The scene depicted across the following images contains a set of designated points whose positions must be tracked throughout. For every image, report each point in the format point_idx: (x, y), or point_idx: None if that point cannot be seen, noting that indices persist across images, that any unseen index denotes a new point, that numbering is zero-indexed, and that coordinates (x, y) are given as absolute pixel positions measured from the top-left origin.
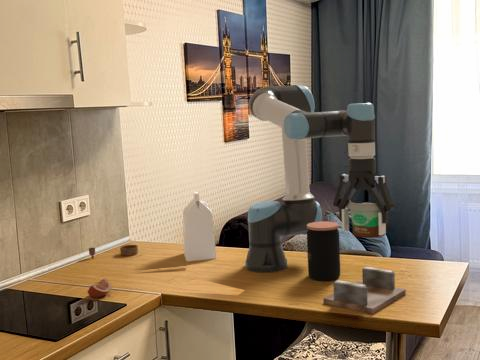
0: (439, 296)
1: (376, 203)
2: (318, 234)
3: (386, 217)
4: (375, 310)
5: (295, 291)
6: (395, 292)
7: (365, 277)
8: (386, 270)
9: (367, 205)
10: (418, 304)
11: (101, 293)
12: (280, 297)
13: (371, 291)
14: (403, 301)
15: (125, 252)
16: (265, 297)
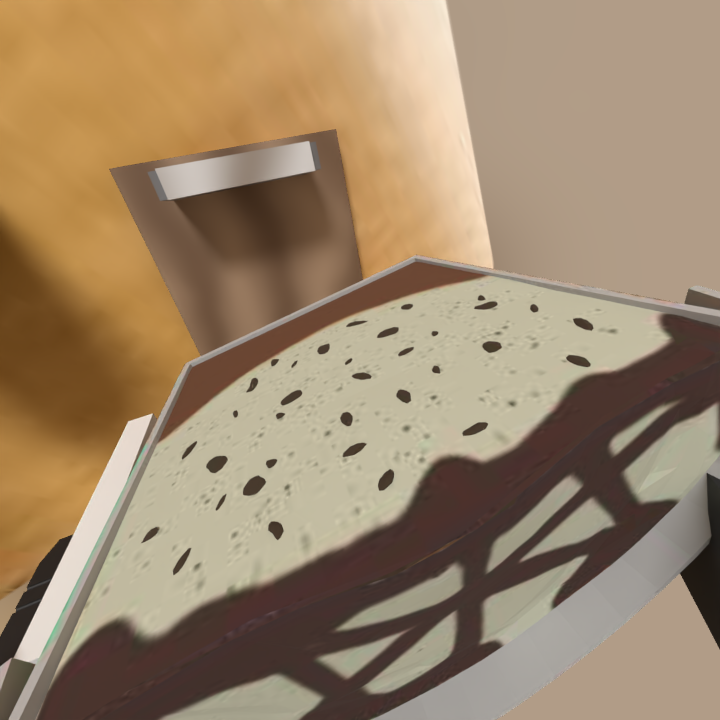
0: (425, 62)
1: (689, 585)
2: None
3: None
4: None
5: (46, 405)
6: (333, 192)
7: (184, 197)
8: (282, 157)
9: (560, 627)
10: (413, 198)
11: None
12: (90, 465)
13: (269, 247)
14: (368, 208)
15: None
16: (62, 497)
